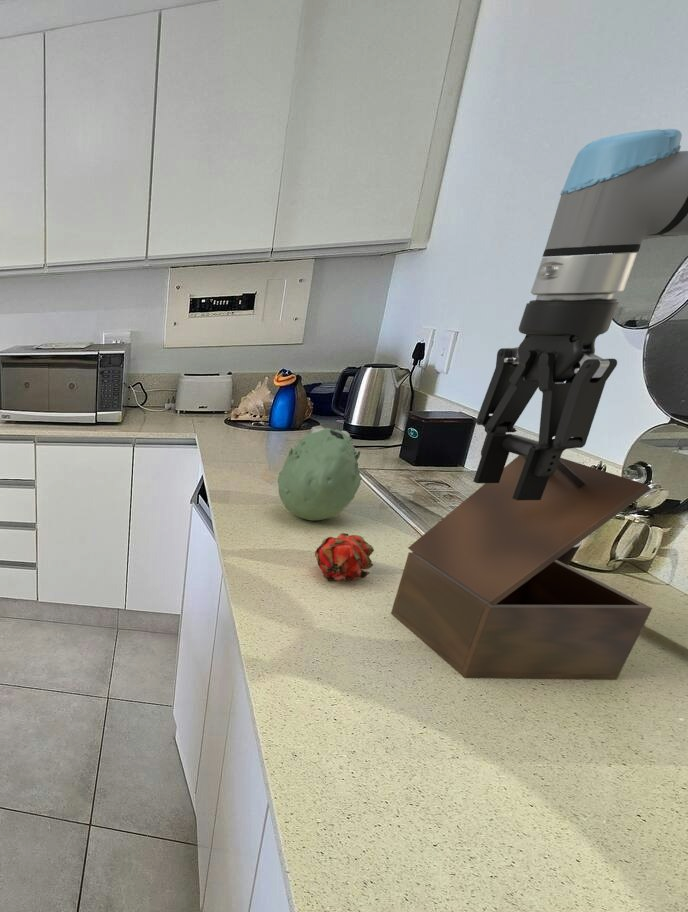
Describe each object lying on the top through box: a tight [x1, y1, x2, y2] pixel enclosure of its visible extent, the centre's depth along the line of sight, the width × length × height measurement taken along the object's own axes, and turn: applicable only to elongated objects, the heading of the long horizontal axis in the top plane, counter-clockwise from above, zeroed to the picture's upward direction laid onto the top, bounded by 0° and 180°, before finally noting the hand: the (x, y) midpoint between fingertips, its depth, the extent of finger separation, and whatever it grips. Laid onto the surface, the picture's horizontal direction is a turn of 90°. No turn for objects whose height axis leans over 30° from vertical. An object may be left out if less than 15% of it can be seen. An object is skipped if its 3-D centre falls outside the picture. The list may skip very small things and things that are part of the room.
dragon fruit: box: [314, 532, 375, 582], centre depth 102 cm, size 8×8×12 cm
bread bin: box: [390, 551, 653, 680], centre depth 81 cm, size 19×17×11 cm
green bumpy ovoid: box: [277, 425, 363, 521], centre depth 125 cm, size 16×19×20 cm
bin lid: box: [407, 434, 652, 606], centre depth 76 cm, size 20×17×9 cm
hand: (505, 490), depth 75 cm, fingers closed on bin lid, 6 cm apart
